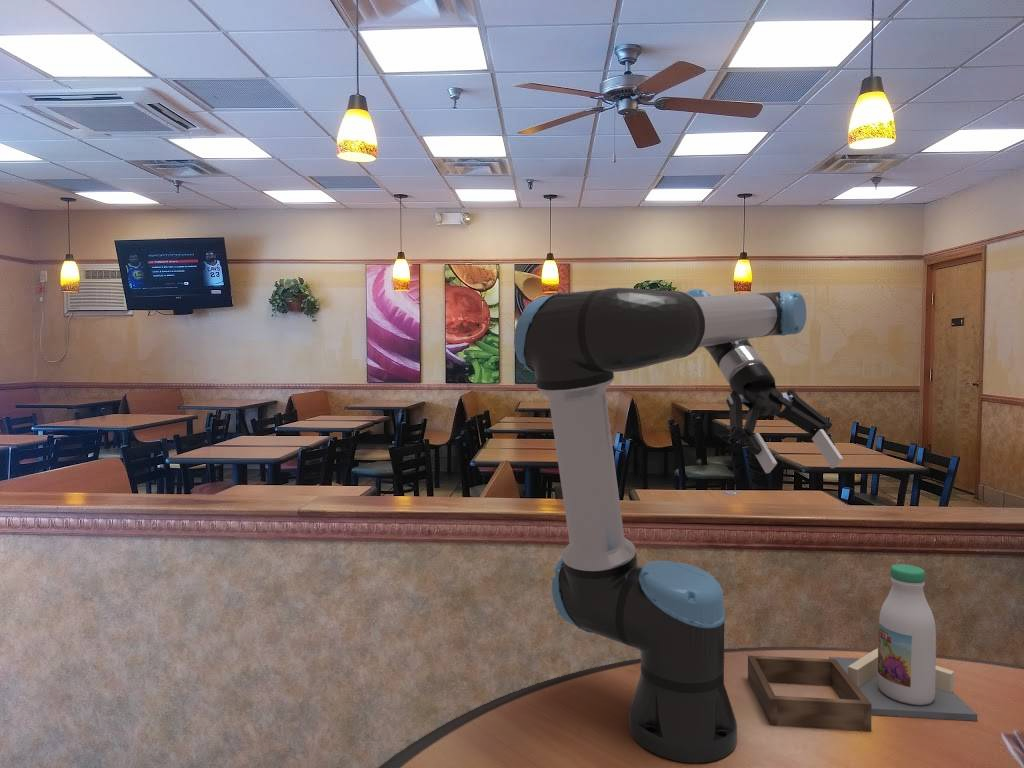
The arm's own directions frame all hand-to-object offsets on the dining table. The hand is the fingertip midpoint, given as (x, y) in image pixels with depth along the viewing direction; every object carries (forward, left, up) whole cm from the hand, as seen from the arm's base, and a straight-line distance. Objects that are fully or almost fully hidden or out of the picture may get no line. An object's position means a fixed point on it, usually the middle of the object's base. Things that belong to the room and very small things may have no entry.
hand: (805, 466), depth 109 cm
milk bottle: (+13, -7, -35) cm, 38 cm away
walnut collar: (-3, -10, -36) cm, 37 cm away
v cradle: (+13, -4, -36) cm, 38 cm away
